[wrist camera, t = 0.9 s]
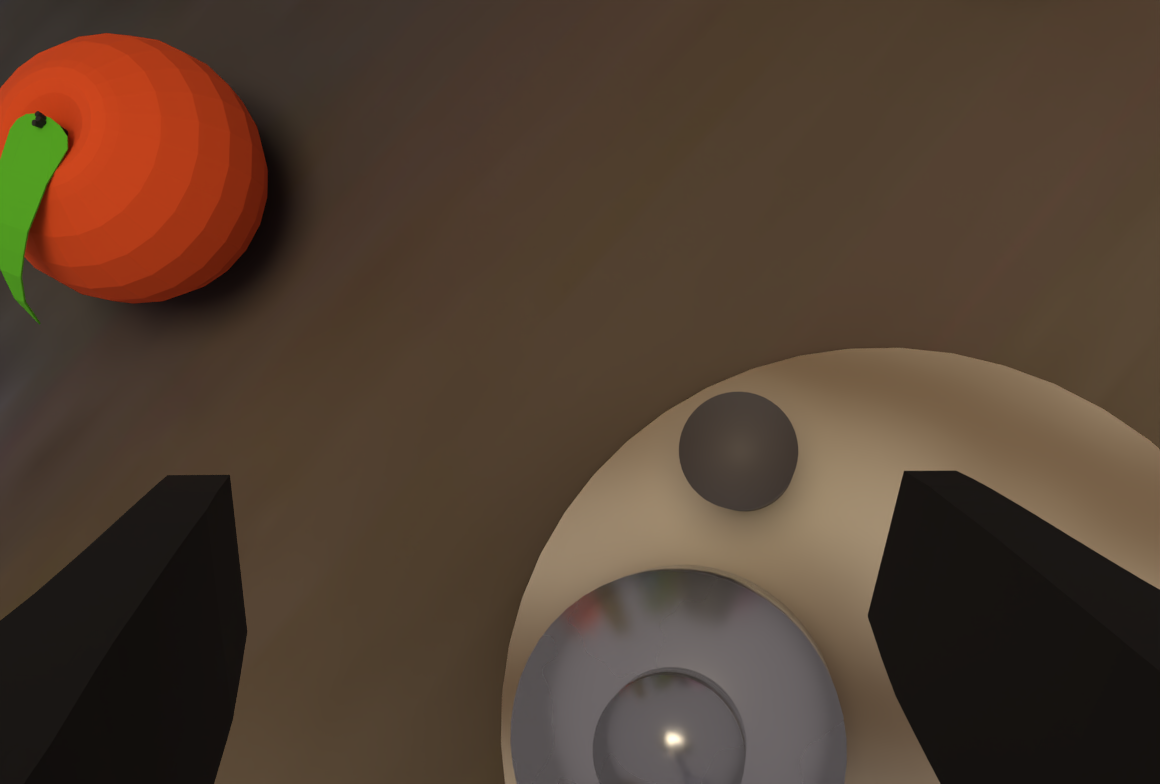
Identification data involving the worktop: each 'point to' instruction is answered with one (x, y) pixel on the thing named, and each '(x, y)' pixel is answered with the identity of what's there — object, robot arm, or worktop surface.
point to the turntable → (840, 503)
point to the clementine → (125, 170)
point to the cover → (677, 689)
